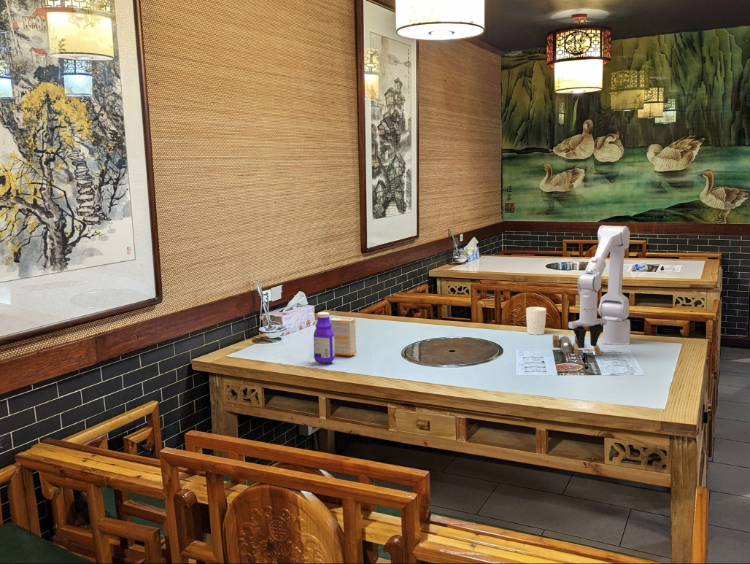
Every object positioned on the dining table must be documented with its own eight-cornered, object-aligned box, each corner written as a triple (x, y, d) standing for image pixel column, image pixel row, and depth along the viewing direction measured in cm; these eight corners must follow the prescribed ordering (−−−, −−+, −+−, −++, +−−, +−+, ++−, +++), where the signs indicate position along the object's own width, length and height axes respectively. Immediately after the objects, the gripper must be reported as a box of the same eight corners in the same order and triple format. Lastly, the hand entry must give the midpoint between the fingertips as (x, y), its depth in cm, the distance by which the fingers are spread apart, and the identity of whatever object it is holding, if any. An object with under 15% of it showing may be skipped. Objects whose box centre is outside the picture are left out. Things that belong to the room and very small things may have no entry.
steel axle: (561, 348, 250) (557, 338, 249) (571, 344, 249) (567, 334, 249) (564, 356, 238) (560, 346, 238) (575, 353, 237) (571, 342, 237)
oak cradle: (597, 351, 242) (597, 344, 241) (600, 357, 233) (600, 350, 232) (572, 350, 243) (572, 343, 243) (574, 356, 235) (574, 349, 234)
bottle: (337, 359, 238) (335, 311, 235) (331, 364, 233) (329, 315, 230) (318, 358, 240) (316, 310, 238) (311, 362, 235) (310, 314, 232)
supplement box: (356, 352, 247) (355, 318, 245) (350, 356, 242) (349, 320, 240) (337, 350, 250) (335, 316, 248) (330, 354, 246) (329, 319, 244)
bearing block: (580, 344, 251) (580, 336, 251) (581, 349, 245) (582, 340, 244) (552, 343, 254) (552, 335, 253) (553, 348, 247) (553, 339, 246)
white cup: (547, 335, 267) (548, 310, 265) (527, 335, 267) (528, 310, 265) (543, 330, 275) (543, 306, 273) (524, 330, 275) (524, 306, 273)
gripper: (598, 304, 238) (597, 341, 240) (563, 308, 233) (562, 346, 236) (611, 308, 231) (610, 346, 234) (575, 311, 227) (574, 350, 229)
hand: (587, 346), depth 234 cm, fingers open, 4 cm apart
